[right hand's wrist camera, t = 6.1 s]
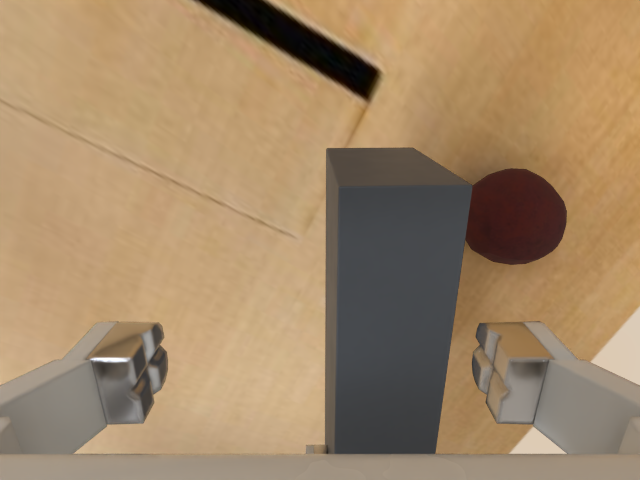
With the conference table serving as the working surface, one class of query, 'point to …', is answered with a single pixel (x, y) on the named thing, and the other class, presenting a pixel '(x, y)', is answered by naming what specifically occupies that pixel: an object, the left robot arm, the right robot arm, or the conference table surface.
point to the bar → (389, 296)
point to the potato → (515, 217)
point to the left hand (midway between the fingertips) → (365, 449)
